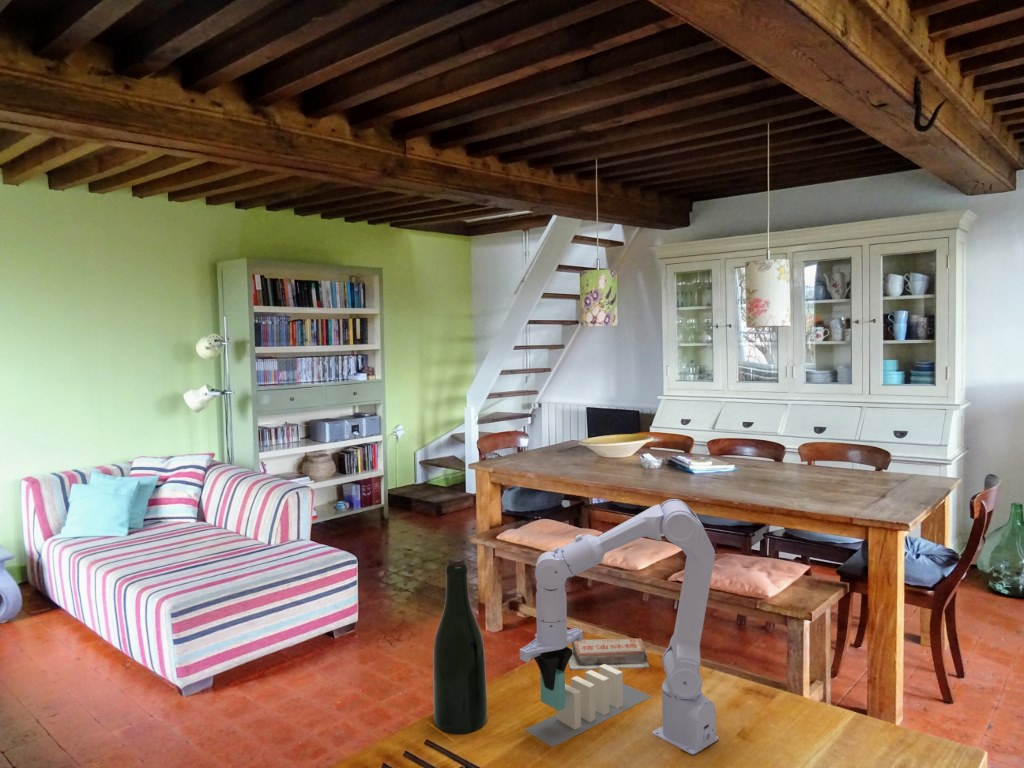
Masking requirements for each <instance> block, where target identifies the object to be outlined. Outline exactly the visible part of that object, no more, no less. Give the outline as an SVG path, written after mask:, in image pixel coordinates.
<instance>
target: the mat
mask: <svg viewBox="0 0 1024 768" xmlns="http://www.w3.org/2000/svg"><path fill="white" fill-rule="evenodd" d="M650 698H652V696H651V695H649V694H648V693H645V692H644V691H642V690H639V689H637V688H634V687H632V686H630V685H629V684H626V683H623V706H621V707H619V708H616V707H614V706H612V705H610V704H609V713H607V714H605V715H603V714H601V713H599V712H597V711H595V720H593V721H591V722H588V721H587V720H585V719H583V718H581V727H579V728H577V729H573V728H571V727H569V726H568V725H566V724H564V723H562V722H561V721H559V720H557V713H556V714H555V715H552V716H550V717H548V718H546V719H543V720H542V721H539V722H538V723H535V724H533V725H532V726H529V727H526V728H525V729H524V731H525V732H527V733H529V734H530V735H532V736H533V737H536V738H537V739H539V740H540V741H542V742H544V743H545V744H547V745H549V746H550V747H552V748H554V747H556V746H558V745H560V744H562V743H564V742H566V741H568V740H570V739H572V738H573V737H575V736H577V735H579V734H581V733H583V732H585V731H588V730H590V729H591V728H593V727H595V726H597V725H599V724H602V723H603V722H605V721H607V720H609V719H610V718H611V719H612V718H613V717H615V716H617V715H618V714H619V715H620V713H623V712H625V711H626V710H629V709H630V708H633V707H635V706H636V705H638V704H640V703H643V702H645V701H646V700H648V699H650Z"/></svg>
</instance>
